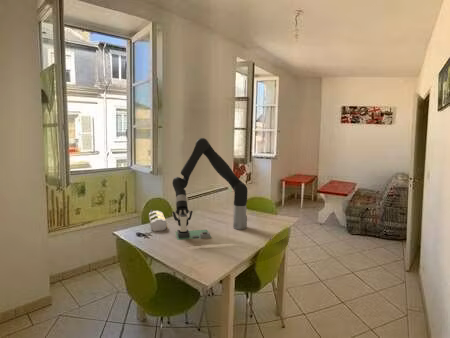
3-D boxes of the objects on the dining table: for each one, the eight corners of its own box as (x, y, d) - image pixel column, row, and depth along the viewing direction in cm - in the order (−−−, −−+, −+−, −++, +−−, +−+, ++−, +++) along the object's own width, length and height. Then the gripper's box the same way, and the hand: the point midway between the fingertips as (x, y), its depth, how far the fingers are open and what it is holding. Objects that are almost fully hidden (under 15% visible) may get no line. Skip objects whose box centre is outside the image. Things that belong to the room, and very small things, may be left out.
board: (206, 231, 221) (206, 225, 220) (211, 239, 205) (211, 233, 205) (175, 233, 215) (175, 227, 215) (177, 242, 200) (177, 235, 199)
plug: (185, 229, 209) (185, 213, 207) (186, 231, 205) (186, 215, 204) (179, 229, 208) (179, 214, 206) (180, 231, 204) (180, 215, 203)
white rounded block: (149, 220, 244) (148, 204, 242) (162, 219, 247) (162, 203, 245) (151, 231, 220) (151, 213, 218) (166, 230, 223) (166, 212, 221)
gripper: (171, 200, 209) (172, 223, 199) (192, 199, 213) (195, 222, 203) (170, 206, 215) (172, 228, 205) (191, 205, 219) (193, 227, 209)
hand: (183, 225), depth 204 cm, fingers closed on plug, 4 cm apart
